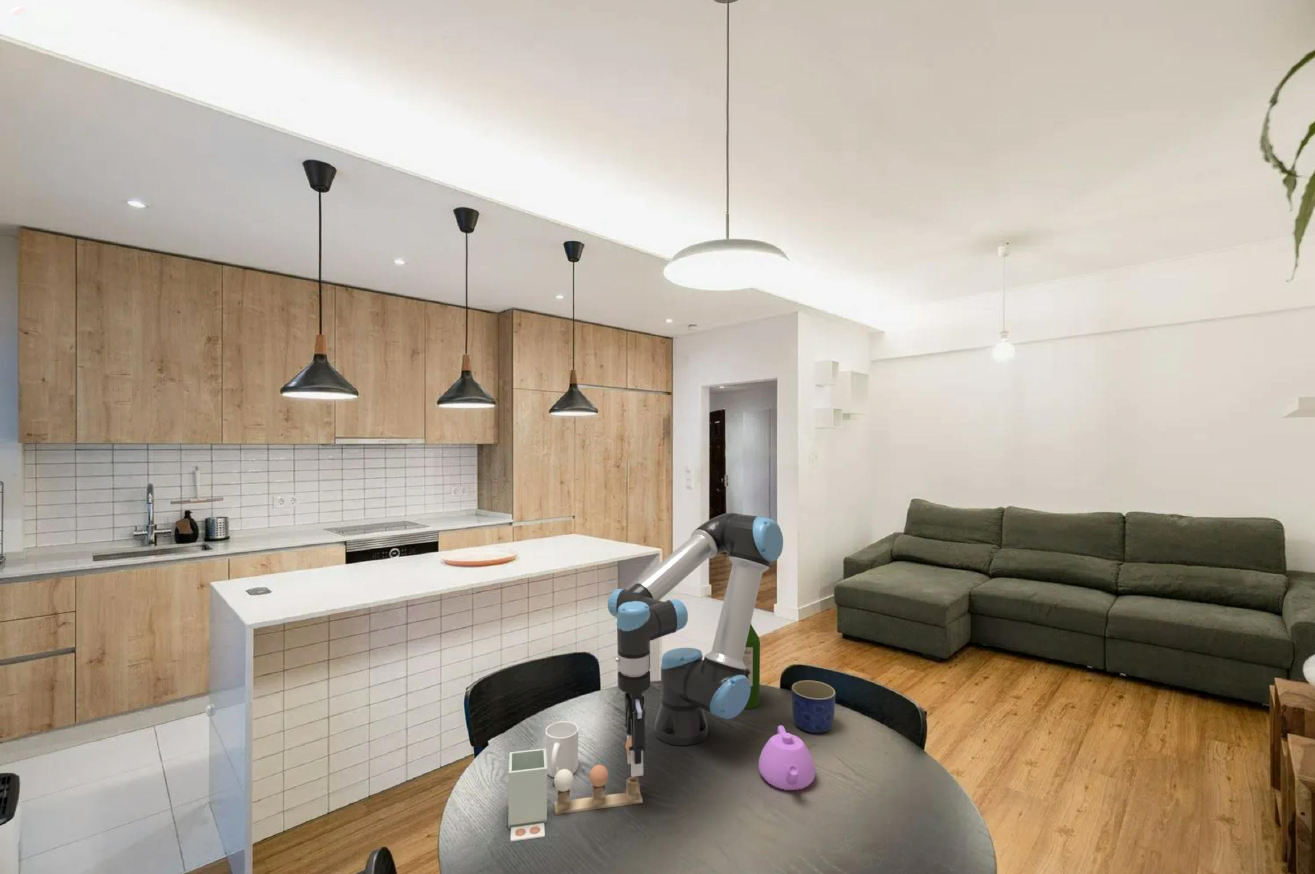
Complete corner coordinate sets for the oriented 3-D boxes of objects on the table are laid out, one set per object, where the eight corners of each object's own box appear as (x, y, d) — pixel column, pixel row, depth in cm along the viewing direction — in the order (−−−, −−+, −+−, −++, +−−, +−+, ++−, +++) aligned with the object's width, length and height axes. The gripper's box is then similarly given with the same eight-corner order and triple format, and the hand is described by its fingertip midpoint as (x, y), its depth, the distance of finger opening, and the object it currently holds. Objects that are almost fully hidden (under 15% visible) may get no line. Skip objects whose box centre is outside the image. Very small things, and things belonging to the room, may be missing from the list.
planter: (800, 711, 179) (801, 676, 179) (840, 724, 172) (841, 687, 172) (784, 728, 169) (784, 691, 169) (826, 742, 162) (826, 703, 162)
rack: (639, 793, 138) (639, 774, 138) (642, 802, 135) (642, 783, 135) (554, 804, 134) (554, 785, 134) (555, 814, 130) (555, 795, 130)
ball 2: (606, 778, 137) (607, 759, 137) (609, 789, 132) (609, 770, 132) (588, 780, 136) (588, 762, 136) (590, 792, 131) (590, 773, 131)
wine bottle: (730, 707, 181) (731, 603, 181) (731, 694, 190) (732, 595, 190) (759, 710, 180) (760, 605, 179) (759, 697, 189) (760, 597, 188)
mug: (568, 790, 139) (569, 747, 139) (535, 787, 140) (535, 744, 140) (581, 761, 151) (581, 722, 151) (550, 759, 152) (551, 719, 152)
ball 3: (642, 749, 139) (642, 731, 139) (646, 759, 134) (645, 740, 134) (624, 751, 138) (623, 733, 138) (627, 762, 134) (627, 743, 133)
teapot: (764, 803, 135) (765, 758, 135) (754, 755, 155) (754, 715, 155) (824, 806, 134) (825, 760, 134) (806, 757, 154) (807, 717, 154)
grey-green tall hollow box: (545, 799, 135) (545, 748, 135) (546, 822, 127) (547, 768, 127) (509, 804, 134) (509, 752, 133) (508, 828, 126) (508, 772, 125)
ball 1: (572, 782, 135) (572, 763, 135) (574, 794, 131) (574, 774, 131) (553, 785, 134) (553, 766, 134) (554, 796, 130) (554, 777, 130)
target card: (544, 824, 127) (544, 822, 127) (544, 836, 123) (544, 834, 123) (511, 828, 125) (511, 827, 125) (510, 841, 121) (510, 839, 121)
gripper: (612, 657, 143) (613, 750, 144) (624, 689, 126) (625, 794, 127) (642, 654, 145) (643, 746, 146) (658, 685, 128) (659, 789, 129)
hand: (635, 768), depth 136 cm, fingers closed on ball 3, 4 cm apart
